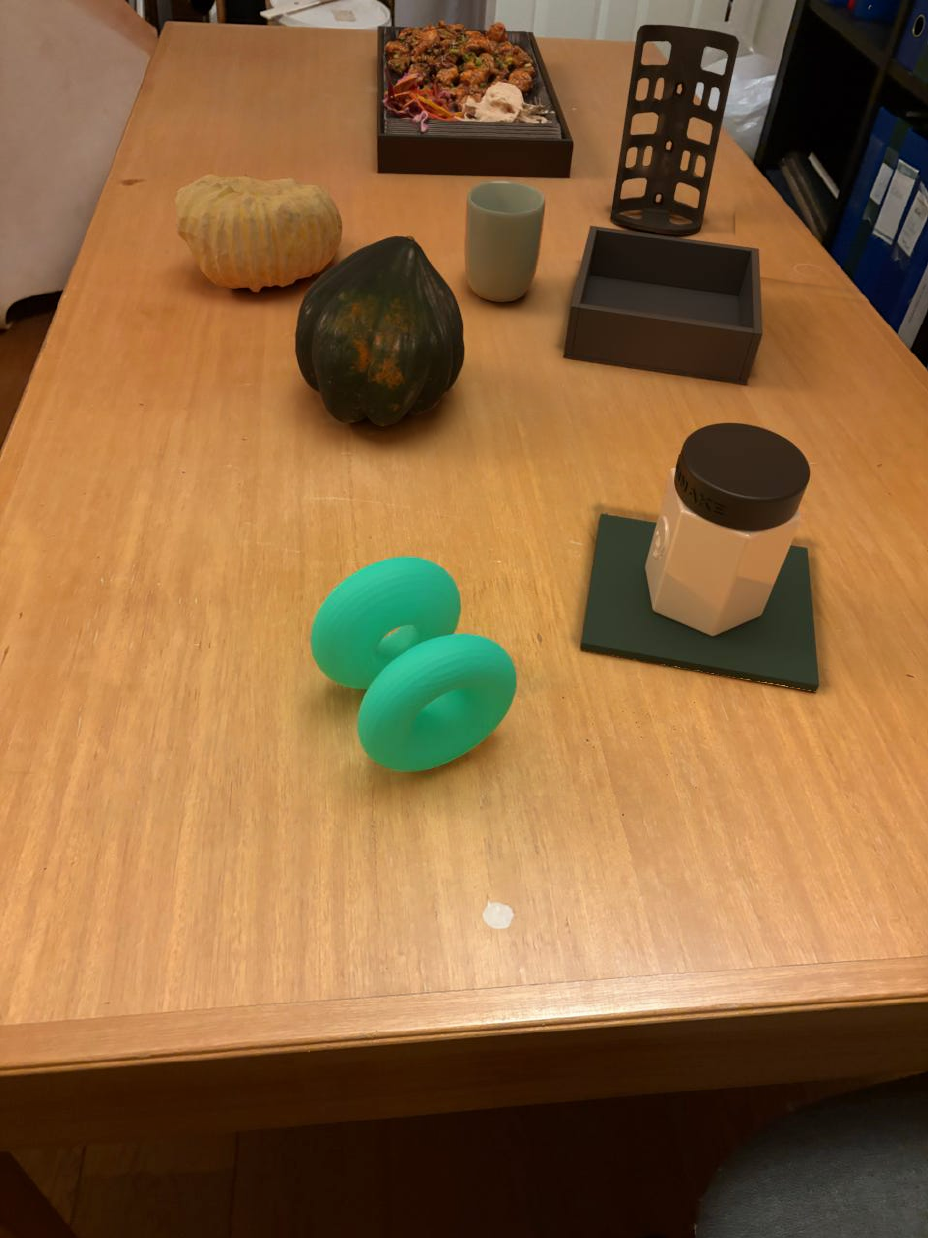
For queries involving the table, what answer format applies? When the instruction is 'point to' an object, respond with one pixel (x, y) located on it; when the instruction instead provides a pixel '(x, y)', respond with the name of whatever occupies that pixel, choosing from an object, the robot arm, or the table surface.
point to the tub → (666, 305)
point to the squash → (380, 334)
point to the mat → (635, 631)
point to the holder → (672, 127)
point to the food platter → (467, 104)
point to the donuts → (412, 664)
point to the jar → (725, 526)
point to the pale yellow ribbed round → (257, 229)
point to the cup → (503, 238)
